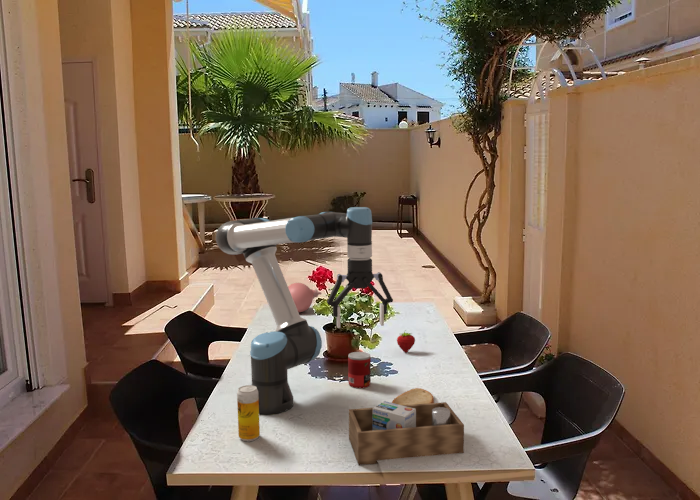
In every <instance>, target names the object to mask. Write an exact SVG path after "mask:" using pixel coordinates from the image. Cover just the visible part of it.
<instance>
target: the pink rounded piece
mask: <svg viewBox="0 0 700 500" xmlns="http://www.w3.org/2000/svg"><path fill="white" fill-rule="evenodd" d="M287 286H288V288H289V291H290V293H291V296H292V298H293V300H294V303H295V305H296V308H297V310H298V313H299V314H300V313H304V312H305V311H307V310H309V308H310V307H311V306H312V303H313V301H314V300H315V299H314V298H317V297H319V295H322V292H321V291H318V289H311V288H310V287H309V286H308V285H307V284H305V283H303V282H293V283H291V284H289V285H287Z"/></svg>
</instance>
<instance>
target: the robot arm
mask: <svg viewBox="0 0 700 500" xmlns="http://www.w3.org/2000/svg"><path fill="white" fill-rule="evenodd" d="M372 232H373V216H372V210H371V208H369V207H367V206H353V207H349V208H347V210H346V213H345V212H335V211H323V212H320V213H318V214H311V215H309V214H308V215H299V216H295V217H287V218H280V219H274V220H270V219H267V218H264V217H251V218H247V219H239V220H231V221H230V220H229V221H227V222H225V223H222V224H221V225H220V227H219V228H218V229H217V231H216V235H215V242H216V245H217V247H218V248H219V250H221V251H222V252H223V253H225V254H227V255H243V256H244V260H245V261H246V262H247V263H249V264H251V265H252V267H253V270H254V272H255V274H256V278H257V279H258V282H259V285H260V287H261V290H262V291H263V295H264V298H265V300H266V303H267V304H268V307H269V309H270V312H271V315H272V317H273V319H274V320H273V321H274V323H275V325H276V329H275V331H270V332H268V331H267V332H263V333H260V334H257V335H256V336H255V337H253V339H252V340H251V343H250V351H249V353H250V354H249V355H250V368H251V369H250V370H251V385H252V386H256V387H257V390H258V397H259V415H260V414H261V415H273V414H279V413H284V412H286V411H288V410H290V409H291V408H293V406H294V403H295V402H294V396H293V392H292V389H291V387H290V384H289V379H288V370H291V369H293V368H296V367H298V366H301V365H304V364H308V363H309V362H311V361H313V360H315V359H317V358H318V356H320V354H321V349H322V346H323V341H322V337H321V336H322V335H321V334H320V332H319V330H318V329H317V328H316V327H315V326H312V325H309V323H308V320H307V319H306V318H305V317H304V318H303V317H301V315H300V313H298V310H297V308H296V305H295V303H294V300H293V298H292V296H291V293H290V291H289V288H288V286H289V285H288V283H287V280H286V278H285V276H284V274H283V272H282V269H281V266H280V264H279V262H278V259H277V257H276V252H277V250H278V249H277V245H284V244H292V243H300V244H301V243H306V242H310V241H315V240H316V241H317V240H323V239H328V238H335V237H336V238H344V239H345V238H346V239H347V240H346V242H347V248H346V249H347V258H348V259H347V260H346V261H347V273H346V274H341V273H338V274H337V275H336V281H335V284H334V286H333V288H332V290H331V292H330V295H329V296H328V297H327V301H326V303H327V305H328V306H332V315H333V318H336V327H337V328H338V329H341V306H340V303H341V302H342V301H343V300H344V299H345V298H346V296H348V294H349V293H350V292H351V291H352V290H353V289H355V290H358V289H366V288H369V289H370V291H372V293H373V294H374V295H375V296H376V297H377V298H378V299H379V300H380V301H381V302H380V303H379V325H380V326H383V327H384V326H385V324H384V323H385V319H384V318H385V315H387V314H388V305H389V304H390V303H393V301H394V299H393V297H392V295H391V293H390V291H389V289H388V287H387V285H386V283H385V282H384V278H383V274H382V273H381V272H377V273H373V259H372V256H373V249H372V248H373V241H372V239H373V237H372V235H373V233H372ZM374 279H375V280H376V281H377V282H378V284H379V286H380V288H381V289H382V291H383V293H384V296H385V297H383V296H382V294H381V293H380V292H379V291H378V290H377V289H376V287H375V286H374V285H373V284H372V283H371V282H372V281H373V280H374ZM345 280H347V282H348V283H347V284H346V285H345V287H344V289H342V291H341V292H340V293H339V294H338V292H339V290H340V288H341V286H342V283H343V282H344V281H345ZM337 294H338V295H337ZM336 296H337V297H336Z"/></svg>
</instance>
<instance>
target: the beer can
mask: <svg viewBox="0 0 700 500" xmlns="http://www.w3.org/2000/svg"><path fill="white" fill-rule="evenodd" d="M236 397H237V398H236V401H237V421H238V422H237V427H238V428H237V430H238V438H240V440H241V441H243V442H254V441H256V440H257V439H258V438H259V436H260V413H259V397H258V390H257V387H256V386H252V384H248V385H247V384H246V385H242V386H240V387H238V389H237V392H236Z"/></svg>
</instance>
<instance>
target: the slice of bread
mask: <svg viewBox="0 0 700 500" xmlns="http://www.w3.org/2000/svg"><path fill="white" fill-rule="evenodd" d="M434 397H435V396H434V395H433V393H431V392H430V391H428V390H426V389H424V388H419V387H415V388H412V389H410V390H407V391H405V392H403V393H401V394H399V395H398V396H396V397H394V398H393V400H392V401H391V403H394V404H398V405H414V404H428V403H435V398H434Z"/></svg>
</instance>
